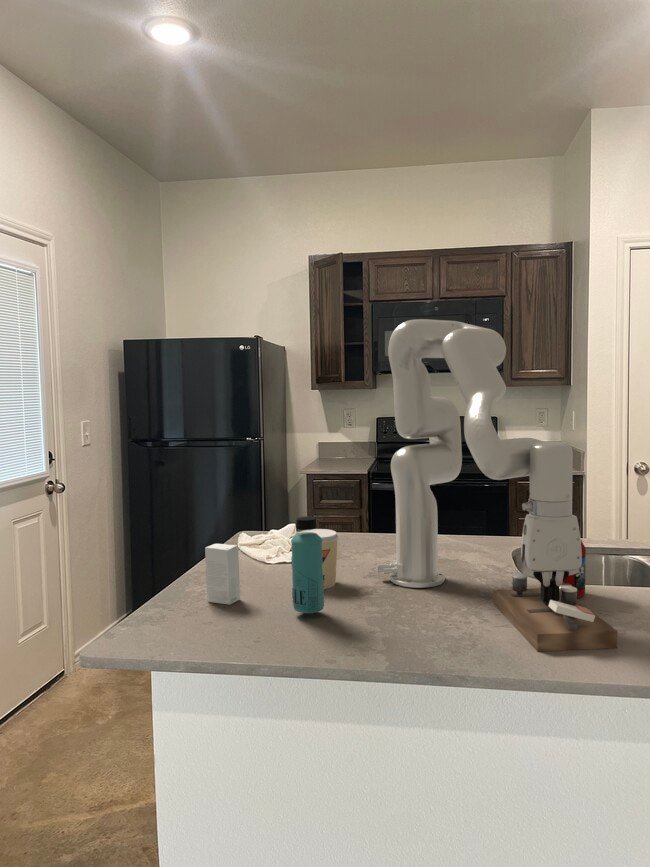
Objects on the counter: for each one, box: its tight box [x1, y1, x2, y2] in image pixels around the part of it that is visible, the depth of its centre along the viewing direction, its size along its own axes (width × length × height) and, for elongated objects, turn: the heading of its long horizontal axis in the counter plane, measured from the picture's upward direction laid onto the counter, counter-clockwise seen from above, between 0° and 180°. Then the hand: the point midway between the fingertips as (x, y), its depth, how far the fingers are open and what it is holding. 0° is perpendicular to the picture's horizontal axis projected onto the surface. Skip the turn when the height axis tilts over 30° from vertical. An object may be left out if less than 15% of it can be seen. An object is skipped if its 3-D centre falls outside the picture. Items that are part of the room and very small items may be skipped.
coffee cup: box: [299, 528, 339, 590], centre depth 153 cm, size 9×9×12 cm
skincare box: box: [204, 543, 241, 606], centre depth 143 cm, size 6×4×12 cm
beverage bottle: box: [290, 515, 326, 614], centre depth 133 cm, size 6×7×20 cm
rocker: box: [549, 600, 596, 622], centre depth 117 cm, size 7×3×1 cm, turn 94°
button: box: [559, 583, 572, 597], centre depth 129 cm, size 3×3×2 cm
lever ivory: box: [561, 586, 578, 606], centre depth 125 cm, size 3×3×4 cm
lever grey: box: [511, 572, 528, 595], centre depth 133 cm, size 3×3×4 cm
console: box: [493, 587, 618, 652], centre depth 126 cm, size 14×24×5 cm, turn 3°
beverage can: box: [562, 539, 587, 599], centre depth 142 cm, size 7×7×12 cm
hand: (549, 604), depth 125 cm, fingers closed
